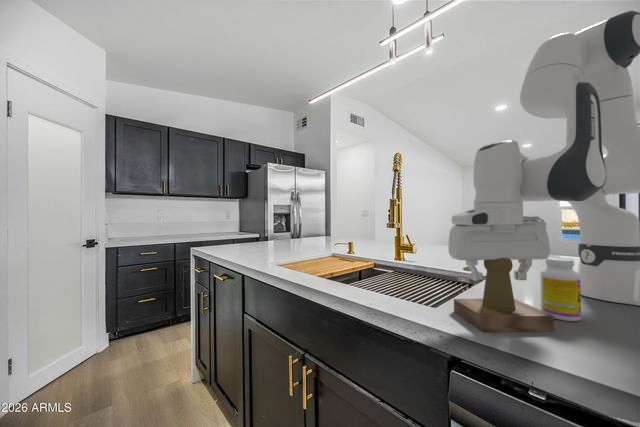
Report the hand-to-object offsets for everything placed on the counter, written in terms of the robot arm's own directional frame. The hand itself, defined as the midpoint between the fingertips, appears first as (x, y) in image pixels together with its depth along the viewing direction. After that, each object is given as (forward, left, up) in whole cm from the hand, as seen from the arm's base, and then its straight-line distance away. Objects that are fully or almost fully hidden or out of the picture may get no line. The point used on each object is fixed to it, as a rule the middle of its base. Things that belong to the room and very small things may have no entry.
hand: (498, 280), depth 57 cm
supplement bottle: (-15, -2, -9) cm, 17 cm away
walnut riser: (0, 0, -9) cm, 9 cm away
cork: (0, 0, -6) cm, 6 cm away
